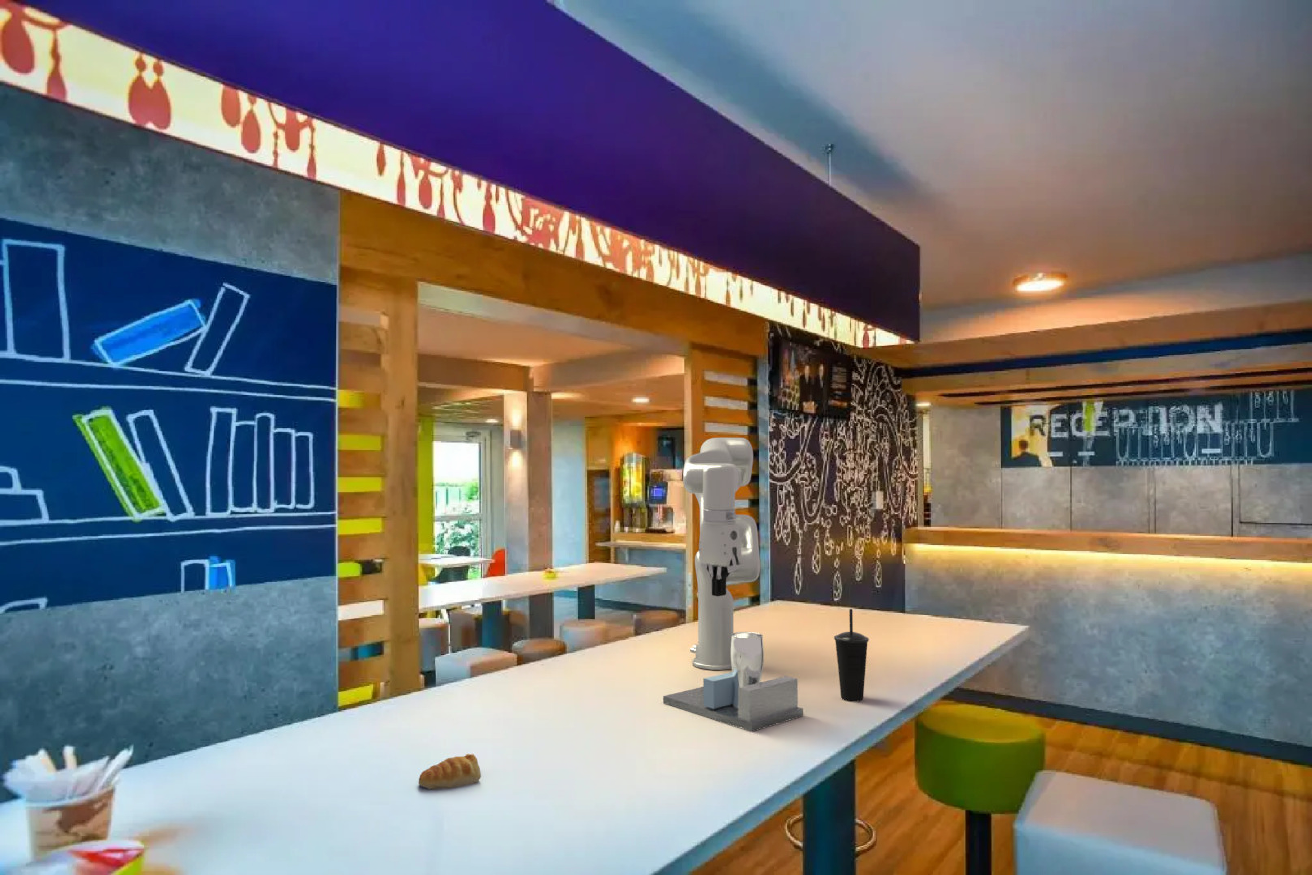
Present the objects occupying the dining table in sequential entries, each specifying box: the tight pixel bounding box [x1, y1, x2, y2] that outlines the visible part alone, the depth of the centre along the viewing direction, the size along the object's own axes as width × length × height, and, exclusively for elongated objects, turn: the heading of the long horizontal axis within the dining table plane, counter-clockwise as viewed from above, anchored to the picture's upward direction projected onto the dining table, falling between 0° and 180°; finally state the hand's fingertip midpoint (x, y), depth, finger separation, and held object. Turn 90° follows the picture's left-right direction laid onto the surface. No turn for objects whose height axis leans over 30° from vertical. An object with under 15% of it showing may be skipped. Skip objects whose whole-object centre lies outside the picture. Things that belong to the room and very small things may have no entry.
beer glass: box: [731, 631, 765, 710], centre depth 160 cm, size 7×7×15 cm
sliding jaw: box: [702, 671, 735, 709], centre depth 163 cm, size 3×14×6 cm, turn 131°
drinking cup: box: [833, 608, 870, 702], centre depth 173 cm, size 8×8×20 cm
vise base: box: [662, 675, 804, 732], centre depth 164 cm, size 26×16×8 cm, turn 41°
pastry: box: [418, 753, 482, 790], centre depth 123 cm, size 9×7×4 cm
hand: (718, 595), depth 179 cm, fingers closed
